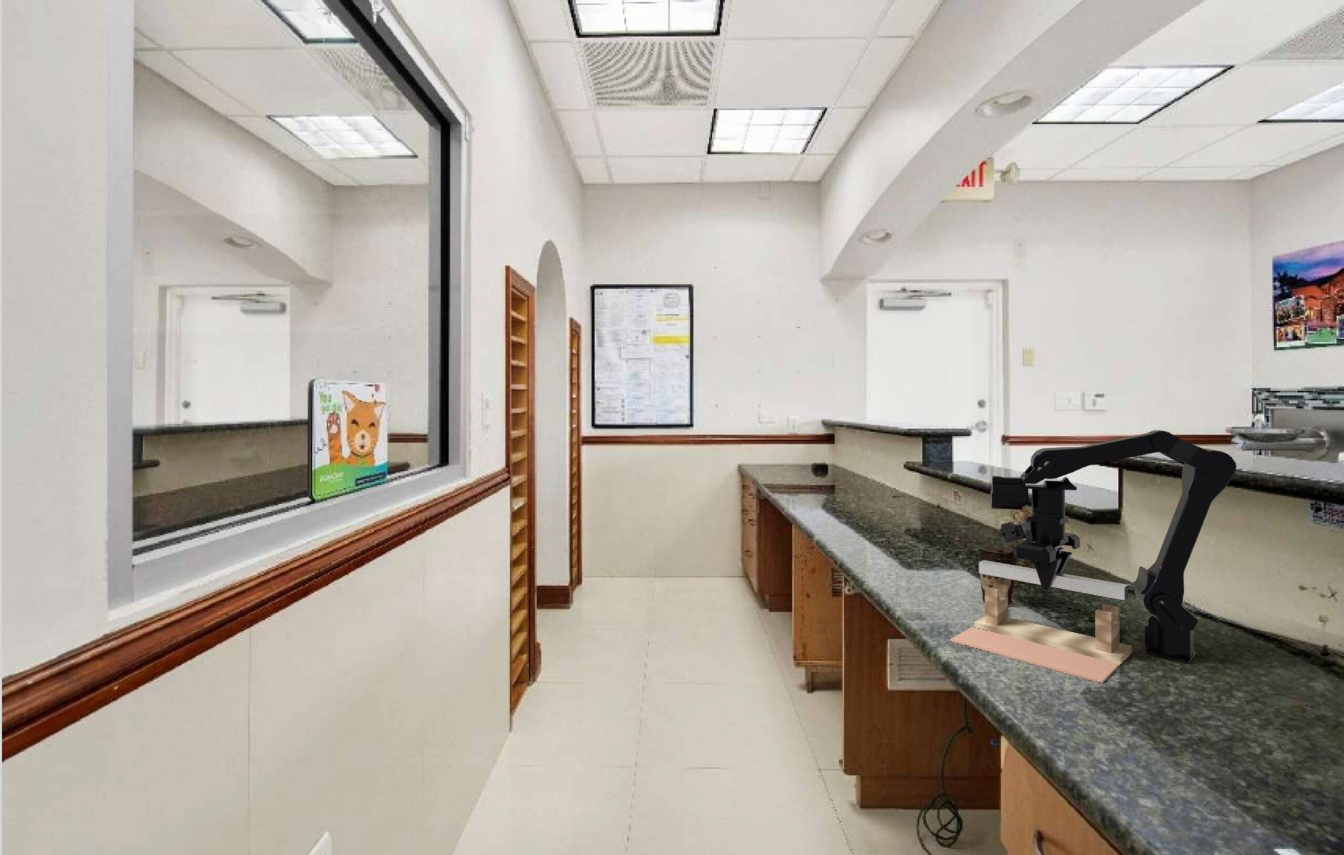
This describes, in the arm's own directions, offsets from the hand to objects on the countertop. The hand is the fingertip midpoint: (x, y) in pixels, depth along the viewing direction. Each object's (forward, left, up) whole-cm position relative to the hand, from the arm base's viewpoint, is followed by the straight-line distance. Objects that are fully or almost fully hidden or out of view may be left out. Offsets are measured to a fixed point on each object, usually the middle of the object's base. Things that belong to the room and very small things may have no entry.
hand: (1048, 588), depth 124 cm
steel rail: (0, 0, +1) cm, 1 cm away
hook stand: (0, 0, -10) cm, 10 cm away
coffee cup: (+16, -16, -11) cm, 25 cm away
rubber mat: (0, +10, -10) cm, 14 cm away
